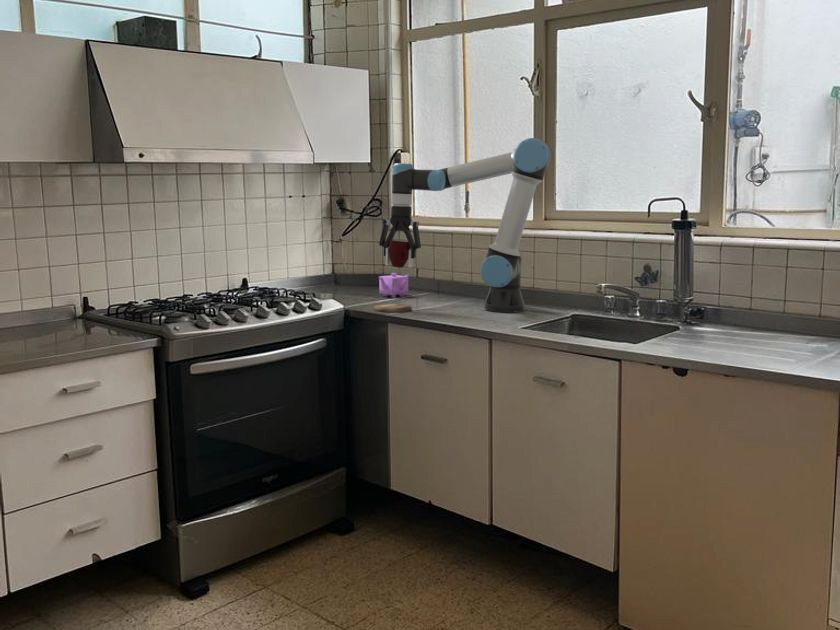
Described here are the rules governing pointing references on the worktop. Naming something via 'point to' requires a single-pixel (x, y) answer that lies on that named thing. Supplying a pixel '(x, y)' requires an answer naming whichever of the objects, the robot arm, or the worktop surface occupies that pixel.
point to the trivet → (392, 308)
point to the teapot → (393, 285)
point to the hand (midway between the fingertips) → (399, 266)
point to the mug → (399, 252)
